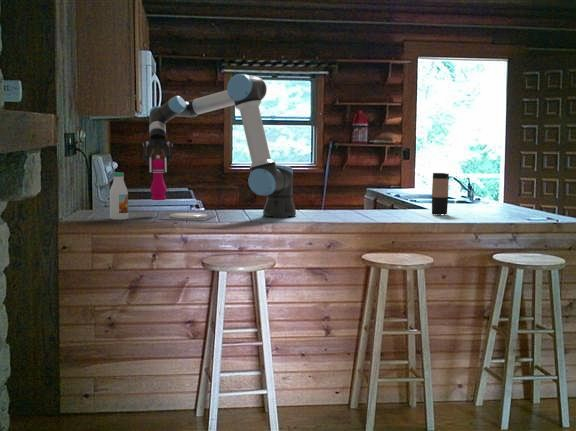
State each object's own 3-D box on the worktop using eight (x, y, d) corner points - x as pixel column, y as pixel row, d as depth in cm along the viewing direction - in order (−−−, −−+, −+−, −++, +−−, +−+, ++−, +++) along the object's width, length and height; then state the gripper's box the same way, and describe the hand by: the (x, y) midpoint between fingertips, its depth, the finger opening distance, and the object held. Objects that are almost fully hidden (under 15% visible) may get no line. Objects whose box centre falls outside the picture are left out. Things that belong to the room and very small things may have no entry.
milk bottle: (112, 220, 303) (111, 173, 301) (107, 218, 310) (107, 172, 308) (130, 219, 307) (129, 172, 305) (125, 217, 314) (125, 172, 312)
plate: (211, 215, 323) (211, 213, 323) (200, 219, 307) (200, 217, 307) (177, 214, 326) (177, 212, 326) (165, 218, 310) (165, 216, 310)
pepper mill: (163, 200, 318) (162, 155, 316) (147, 200, 320) (147, 155, 318) (169, 199, 325) (168, 155, 323) (154, 198, 327) (153, 154, 325)
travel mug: (429, 215, 345) (431, 173, 343) (432, 213, 352) (434, 172, 350) (445, 215, 342) (447, 173, 340) (448, 214, 349) (450, 173, 347)
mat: (216, 216, 325) (216, 215, 325) (204, 221, 305) (204, 220, 305) (174, 215, 328) (174, 214, 328) (159, 219, 309) (159, 218, 309)
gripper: (178, 139, 337) (179, 175, 322) (137, 139, 333) (136, 176, 319) (178, 127, 331) (179, 164, 317) (136, 127, 328) (136, 164, 313)
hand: (158, 170), depth 318 cm, fingers closed on pepper mill, 6 cm apart
